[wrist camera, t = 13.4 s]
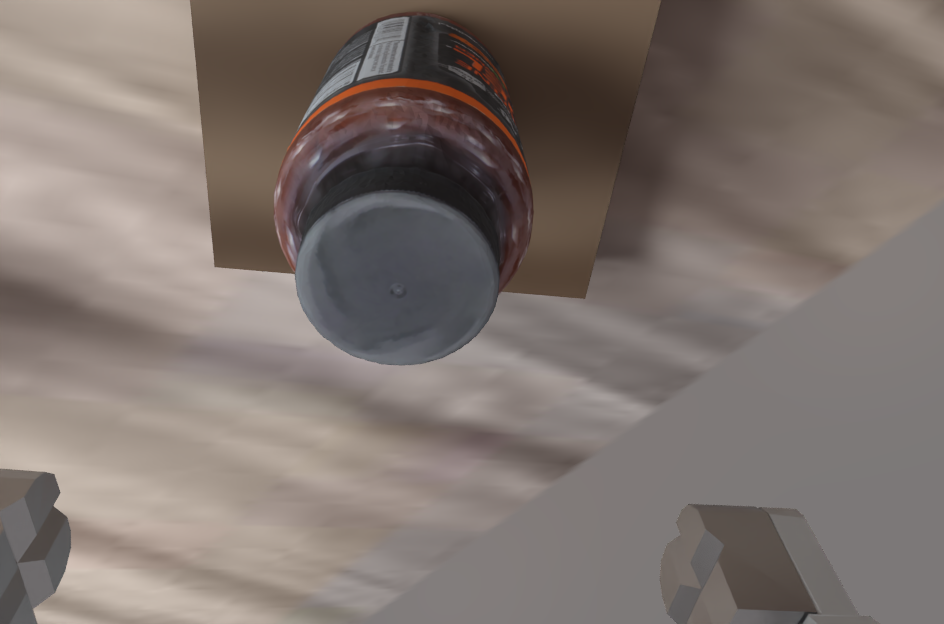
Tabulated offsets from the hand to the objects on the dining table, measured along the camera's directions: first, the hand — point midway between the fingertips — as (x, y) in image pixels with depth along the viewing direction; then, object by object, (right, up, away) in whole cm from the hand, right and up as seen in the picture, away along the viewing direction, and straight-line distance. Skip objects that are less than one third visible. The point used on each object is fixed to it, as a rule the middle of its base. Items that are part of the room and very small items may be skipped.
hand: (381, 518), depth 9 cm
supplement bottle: (-1, +10, +14) cm, 17 cm away
